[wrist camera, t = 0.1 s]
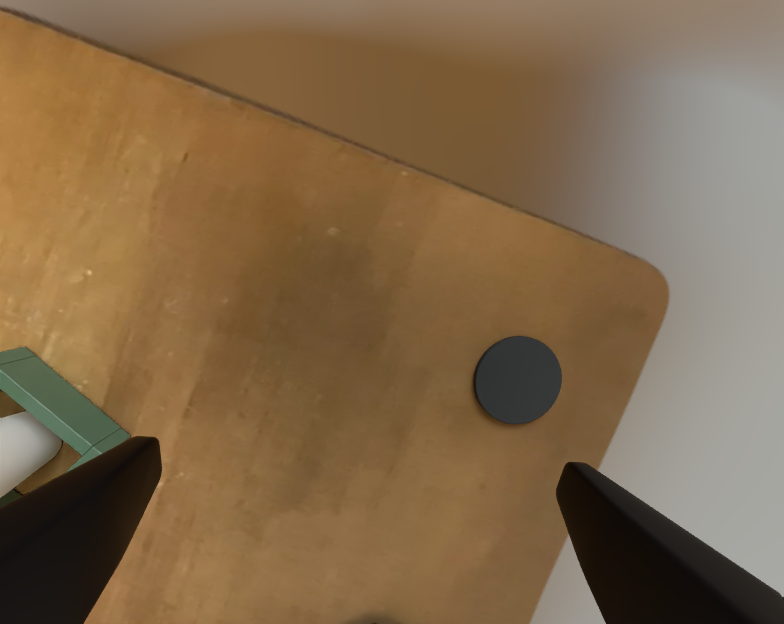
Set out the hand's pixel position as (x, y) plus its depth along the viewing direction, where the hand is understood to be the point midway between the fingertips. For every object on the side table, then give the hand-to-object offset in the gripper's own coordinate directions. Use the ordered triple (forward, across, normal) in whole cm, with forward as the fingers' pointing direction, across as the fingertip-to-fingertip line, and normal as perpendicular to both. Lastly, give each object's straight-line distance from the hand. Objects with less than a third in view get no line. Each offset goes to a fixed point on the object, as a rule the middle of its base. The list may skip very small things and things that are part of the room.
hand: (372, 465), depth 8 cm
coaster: (+14, -11, +6) cm, 19 cm away
